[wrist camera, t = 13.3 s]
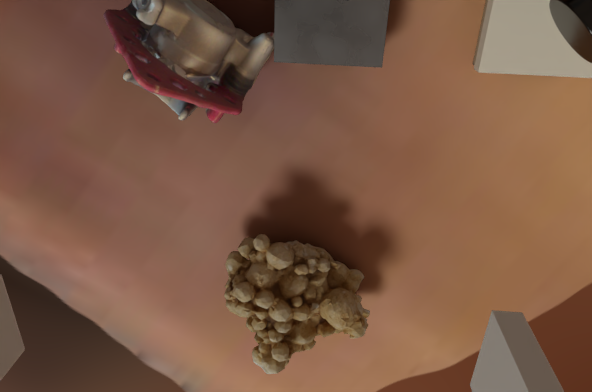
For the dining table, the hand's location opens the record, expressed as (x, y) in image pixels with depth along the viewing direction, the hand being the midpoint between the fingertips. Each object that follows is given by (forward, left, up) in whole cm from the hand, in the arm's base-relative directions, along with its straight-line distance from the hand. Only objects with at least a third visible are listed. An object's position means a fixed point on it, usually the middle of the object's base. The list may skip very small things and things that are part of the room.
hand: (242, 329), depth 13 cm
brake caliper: (-2, -9, -29) cm, 30 cm away
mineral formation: (+19, 0, -29) cm, 35 cm away
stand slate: (-7, +2, -29) cm, 30 cm away
